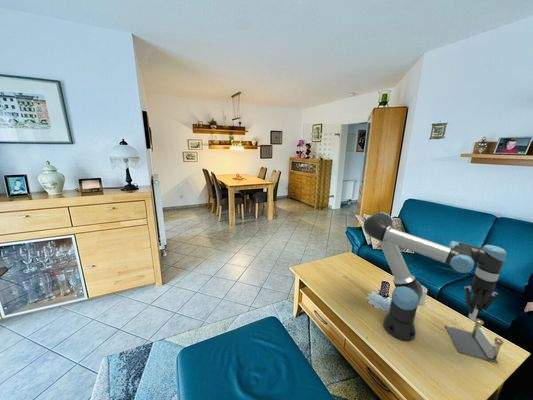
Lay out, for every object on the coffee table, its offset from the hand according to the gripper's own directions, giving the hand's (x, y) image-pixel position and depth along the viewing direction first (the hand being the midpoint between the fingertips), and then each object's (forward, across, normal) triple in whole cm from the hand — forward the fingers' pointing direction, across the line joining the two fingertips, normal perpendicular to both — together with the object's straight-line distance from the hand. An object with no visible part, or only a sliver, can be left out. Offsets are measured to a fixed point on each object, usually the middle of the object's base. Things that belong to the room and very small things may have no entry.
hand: (471, 318), depth 109 cm
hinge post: (+15, -7, -7) cm, 18 cm away
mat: (+15, -3, -1) cm, 16 cm away
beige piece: (+14, -7, +1) cm, 16 cm away
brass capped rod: (+15, -10, +5) cm, 19 cm away
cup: (+16, +16, -28) cm, 36 cm away
